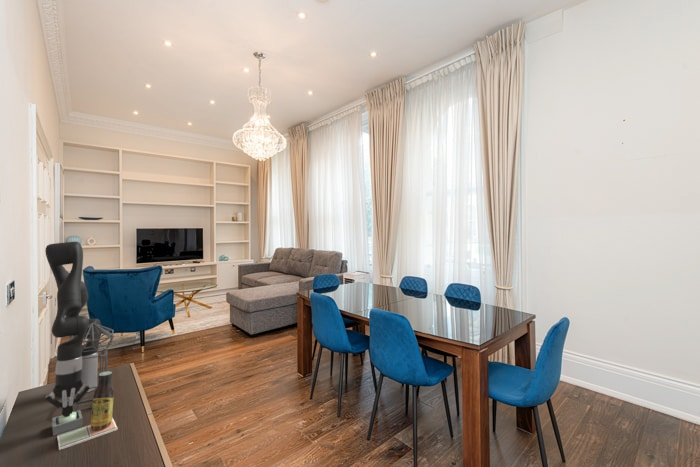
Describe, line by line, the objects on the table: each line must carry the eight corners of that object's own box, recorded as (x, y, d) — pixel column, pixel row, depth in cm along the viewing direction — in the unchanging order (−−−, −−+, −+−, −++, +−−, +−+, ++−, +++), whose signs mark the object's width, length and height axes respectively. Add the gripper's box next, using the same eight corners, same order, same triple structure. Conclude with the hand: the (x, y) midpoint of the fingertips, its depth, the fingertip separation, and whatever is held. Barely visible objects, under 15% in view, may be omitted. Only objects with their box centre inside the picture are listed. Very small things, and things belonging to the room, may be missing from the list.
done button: (57, 426, 117) (58, 415, 117) (75, 420, 121) (75, 410, 121) (58, 431, 114) (59, 420, 114) (76, 426, 117) (77, 415, 117)
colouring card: (57, 437, 111) (57, 434, 111) (112, 419, 122) (112, 417, 122) (59, 450, 104) (59, 448, 104) (117, 429, 115) (117, 427, 115)
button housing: (52, 426, 117) (52, 418, 117) (80, 418, 123) (80, 409, 123) (53, 435, 111) (53, 426, 112) (82, 426, 117) (82, 418, 117)
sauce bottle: (86, 432, 112) (88, 377, 113) (95, 423, 118) (97, 370, 119) (108, 430, 114) (109, 375, 114) (115, 420, 120) (117, 369, 121)
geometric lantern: (64, 403, 134) (70, 321, 136) (110, 393, 143) (115, 317, 145) (59, 419, 121) (66, 329, 123) (110, 407, 131) (115, 324, 133)
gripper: (45, 378, 110) (42, 427, 110) (92, 367, 120) (91, 412, 119) (44, 371, 115) (42, 418, 115) (90, 362, 125) (88, 405, 124)
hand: (67, 415), depth 117 cm, fingers closed
